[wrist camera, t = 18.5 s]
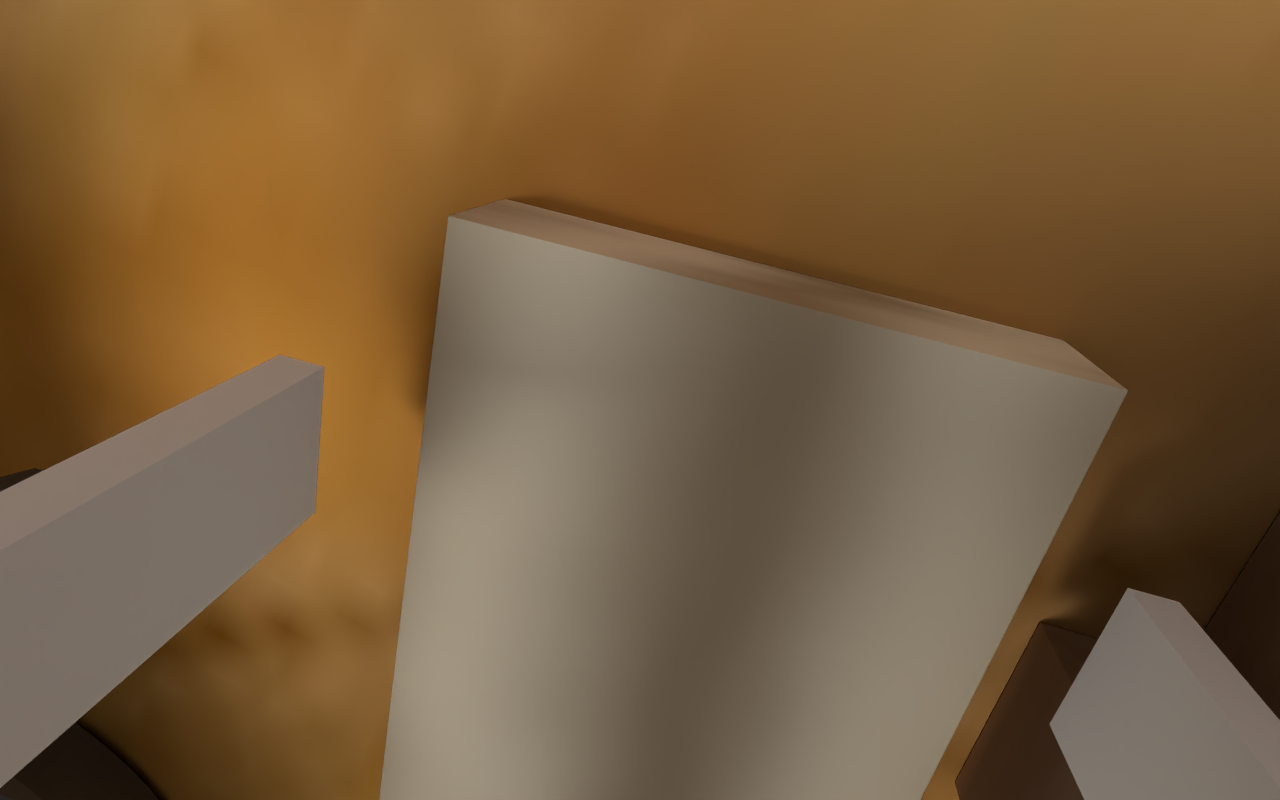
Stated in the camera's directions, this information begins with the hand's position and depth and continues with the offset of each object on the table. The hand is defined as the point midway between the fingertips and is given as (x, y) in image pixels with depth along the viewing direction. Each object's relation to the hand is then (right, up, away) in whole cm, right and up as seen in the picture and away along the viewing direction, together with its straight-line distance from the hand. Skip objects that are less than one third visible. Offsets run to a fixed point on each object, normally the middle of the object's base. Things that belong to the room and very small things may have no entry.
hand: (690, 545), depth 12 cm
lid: (0, -2, +4) cm, 5 cm away
